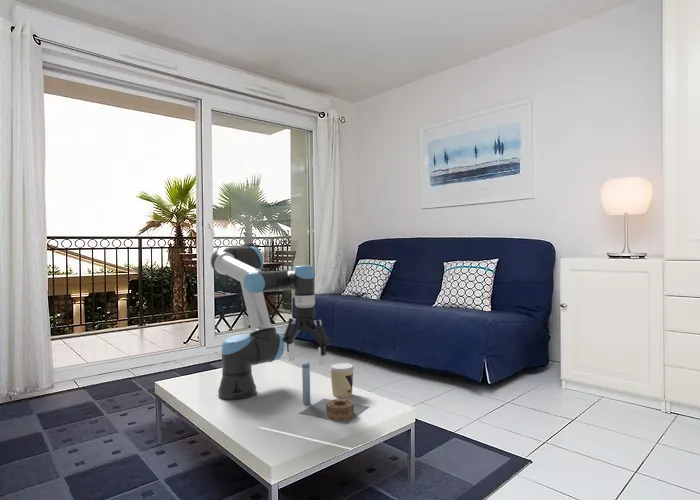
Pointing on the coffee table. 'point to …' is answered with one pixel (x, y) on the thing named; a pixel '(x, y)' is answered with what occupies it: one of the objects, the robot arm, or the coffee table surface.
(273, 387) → the coffee table surface
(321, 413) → the mat
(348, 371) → the coffee cup
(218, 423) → the coffee table surface
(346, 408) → the bead
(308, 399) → the blue rounded-end rod
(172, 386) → the coffee table surface
